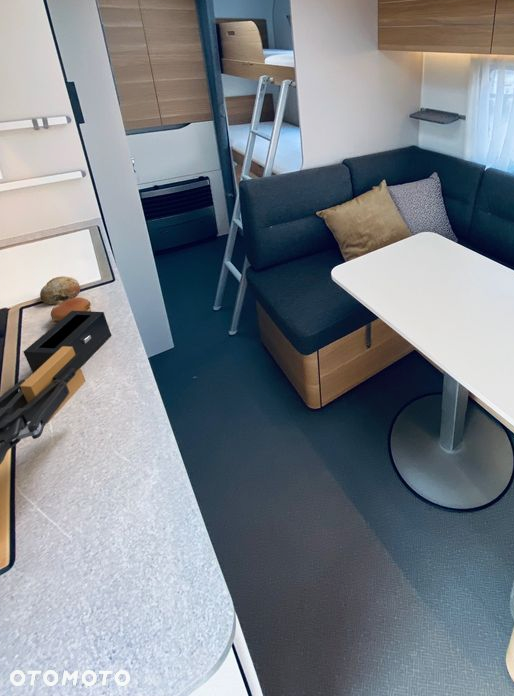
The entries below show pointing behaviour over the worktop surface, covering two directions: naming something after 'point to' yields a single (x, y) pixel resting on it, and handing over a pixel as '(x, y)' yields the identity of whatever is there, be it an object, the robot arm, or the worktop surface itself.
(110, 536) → the worktop surface
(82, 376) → the toast
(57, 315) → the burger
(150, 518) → the worktop surface
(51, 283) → the rock
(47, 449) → the worktop surface
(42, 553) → the worktop surface
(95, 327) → the toaster
